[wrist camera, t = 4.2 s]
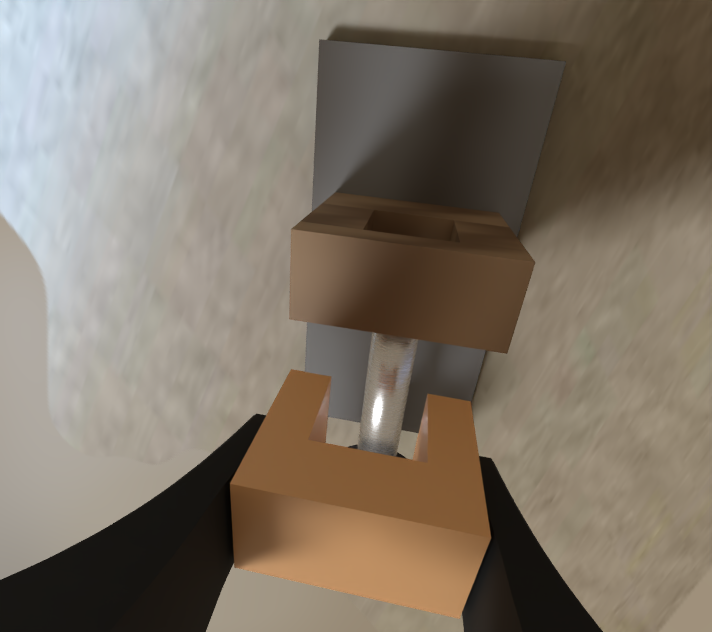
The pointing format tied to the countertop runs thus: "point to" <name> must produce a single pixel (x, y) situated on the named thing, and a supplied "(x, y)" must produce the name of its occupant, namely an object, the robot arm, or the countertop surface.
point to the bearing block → (417, 213)
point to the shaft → (386, 393)
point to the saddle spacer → (362, 504)
